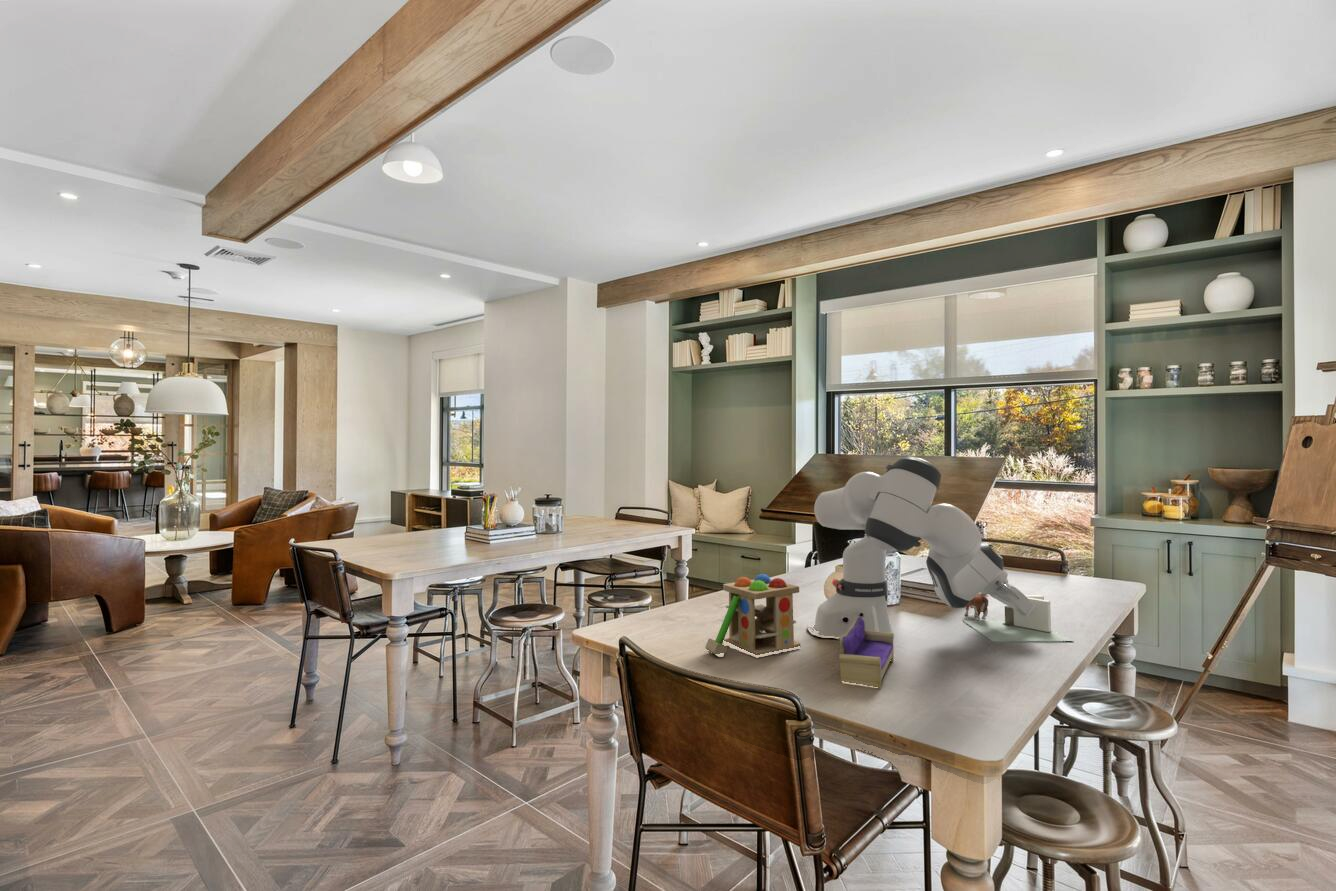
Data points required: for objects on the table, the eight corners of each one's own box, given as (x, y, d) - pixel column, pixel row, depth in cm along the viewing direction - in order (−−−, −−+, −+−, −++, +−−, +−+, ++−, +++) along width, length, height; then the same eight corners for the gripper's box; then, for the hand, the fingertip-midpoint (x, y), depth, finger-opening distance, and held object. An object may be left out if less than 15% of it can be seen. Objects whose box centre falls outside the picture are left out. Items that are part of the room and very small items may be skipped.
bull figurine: (974, 612, 199) (973, 585, 200) (991, 622, 186) (991, 593, 186) (959, 612, 200) (958, 585, 200) (975, 621, 186) (975, 592, 187)
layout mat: (992, 642, 169) (992, 640, 169) (963, 621, 189) (963, 620, 189) (1073, 642, 167) (1073, 640, 167) (1035, 621, 187) (1035, 620, 187)
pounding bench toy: (727, 666, 154) (726, 589, 154) (694, 650, 167) (693, 579, 167) (801, 649, 166) (800, 578, 166) (765, 636, 178) (764, 570, 178)
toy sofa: (881, 691, 137) (880, 642, 137) (839, 685, 141) (838, 637, 141) (895, 661, 155) (894, 618, 155) (857, 657, 159) (856, 614, 159)
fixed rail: (1007, 625, 182) (1006, 596, 182) (1003, 623, 185) (1002, 595, 185) (1045, 625, 181) (1044, 596, 182) (1041, 623, 184) (1040, 594, 184)
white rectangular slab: (1013, 625, 182) (1013, 596, 182) (1016, 624, 183) (1015, 595, 183) (1048, 632, 174) (1047, 601, 174) (1051, 631, 175) (1050, 600, 175)
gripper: (1016, 578, 168) (1055, 616, 167) (982, 563, 188) (1017, 597, 187) (998, 595, 168) (1037, 634, 167) (966, 578, 188) (1001, 613, 188)
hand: (1026, 614), depth 178 cm, fingers closed
